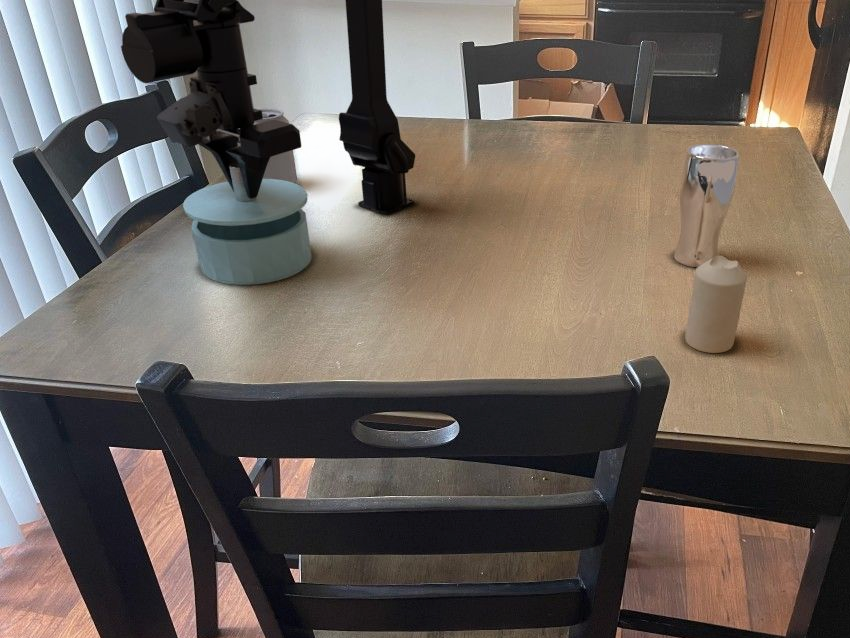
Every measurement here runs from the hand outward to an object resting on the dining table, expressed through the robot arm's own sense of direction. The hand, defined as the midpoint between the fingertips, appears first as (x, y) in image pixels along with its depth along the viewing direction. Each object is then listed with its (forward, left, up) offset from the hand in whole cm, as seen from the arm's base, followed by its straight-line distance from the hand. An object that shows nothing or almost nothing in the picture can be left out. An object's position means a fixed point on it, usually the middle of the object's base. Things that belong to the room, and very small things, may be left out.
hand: (245, 195), depth 99 cm
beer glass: (-38, +47, -9) cm, 61 cm away
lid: (0, 0, -1) cm, 1 cm away
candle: (-18, +58, -9) cm, 61 cm away
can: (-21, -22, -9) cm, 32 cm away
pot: (0, 0, -9) cm, 9 cm away
